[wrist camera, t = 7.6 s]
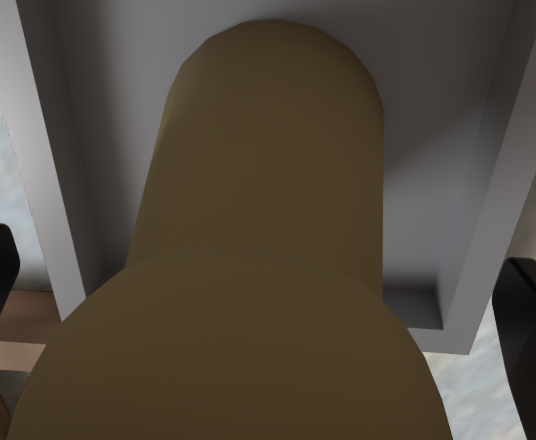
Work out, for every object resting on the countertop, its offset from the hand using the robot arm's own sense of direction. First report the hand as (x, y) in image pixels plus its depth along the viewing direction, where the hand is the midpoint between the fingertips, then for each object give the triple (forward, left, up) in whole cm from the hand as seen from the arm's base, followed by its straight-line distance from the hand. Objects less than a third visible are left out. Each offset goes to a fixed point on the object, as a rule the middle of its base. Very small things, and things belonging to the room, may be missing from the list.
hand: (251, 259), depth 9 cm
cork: (0, 0, -6) cm, 6 cm away
